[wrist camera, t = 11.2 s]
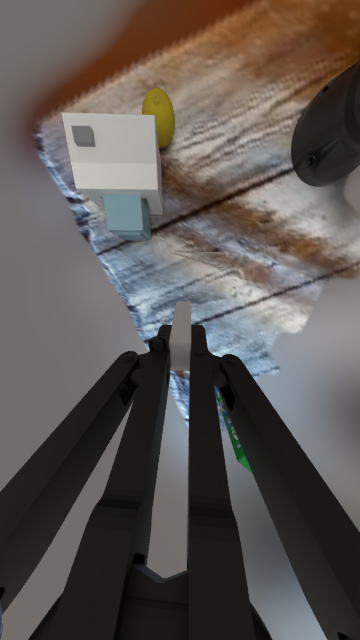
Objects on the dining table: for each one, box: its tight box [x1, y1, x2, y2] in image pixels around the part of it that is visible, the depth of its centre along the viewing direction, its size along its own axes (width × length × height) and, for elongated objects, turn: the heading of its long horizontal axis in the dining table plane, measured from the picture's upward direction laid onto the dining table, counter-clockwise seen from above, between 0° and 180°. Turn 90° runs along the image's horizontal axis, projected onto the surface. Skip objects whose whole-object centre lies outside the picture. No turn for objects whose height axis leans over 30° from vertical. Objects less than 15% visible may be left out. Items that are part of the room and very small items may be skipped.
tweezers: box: [173, 251, 230, 271], centre depth 37 cm, size 18×5×2 cm, turn 81°
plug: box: [103, 195, 151, 241], centre depth 30 cm, size 6×8×10 cm
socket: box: [62, 113, 163, 215], centre depth 27 cm, size 12×8×13 cm, turn 90°
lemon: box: [142, 88, 175, 148], centre depth 26 cm, size 6×6×8 cm
